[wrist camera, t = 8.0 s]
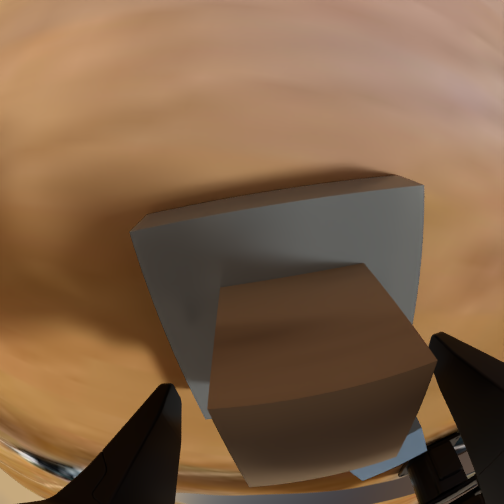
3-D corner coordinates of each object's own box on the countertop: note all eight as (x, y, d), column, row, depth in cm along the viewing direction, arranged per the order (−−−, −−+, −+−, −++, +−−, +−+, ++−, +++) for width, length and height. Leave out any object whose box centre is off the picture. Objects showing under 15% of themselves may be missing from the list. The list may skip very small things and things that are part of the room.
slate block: (409, 411, 17) (427, 450, 14) (350, 439, 18) (362, 480, 15) (398, 380, 16) (421, 427, 12) (328, 415, 17) (341, 465, 13)
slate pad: (385, 358, 14) (398, 383, 13) (208, 390, 15) (205, 419, 13) (397, 175, 10) (424, 185, 9) (147, 214, 11) (129, 231, 9)
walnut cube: (358, 363, 12) (396, 456, 7) (246, 384, 12) (249, 487, 7) (364, 263, 10) (437, 360, 5) (220, 287, 10) (207, 409, 5)
